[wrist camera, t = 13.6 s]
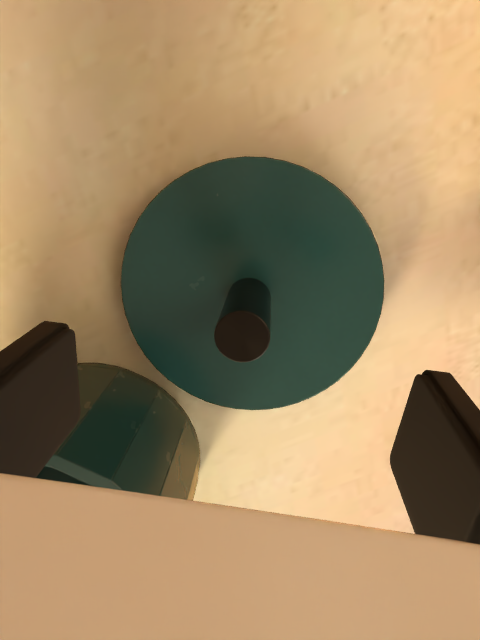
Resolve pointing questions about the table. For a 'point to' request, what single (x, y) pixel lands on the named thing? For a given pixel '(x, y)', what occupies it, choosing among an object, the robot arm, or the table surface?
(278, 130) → the table surface
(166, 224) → the lid
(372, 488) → the table surface
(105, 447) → the pot
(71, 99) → the table surface
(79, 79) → the table surface
